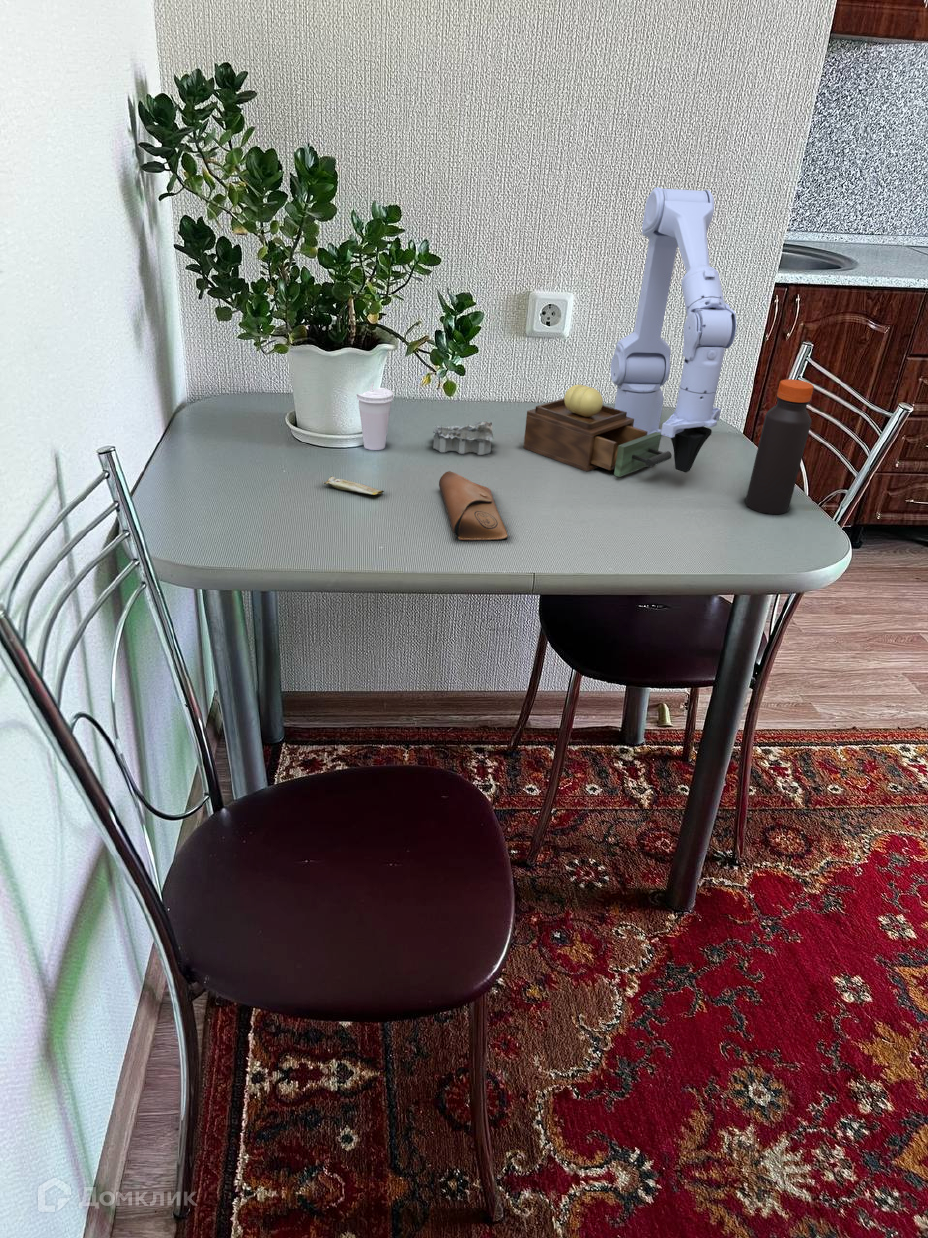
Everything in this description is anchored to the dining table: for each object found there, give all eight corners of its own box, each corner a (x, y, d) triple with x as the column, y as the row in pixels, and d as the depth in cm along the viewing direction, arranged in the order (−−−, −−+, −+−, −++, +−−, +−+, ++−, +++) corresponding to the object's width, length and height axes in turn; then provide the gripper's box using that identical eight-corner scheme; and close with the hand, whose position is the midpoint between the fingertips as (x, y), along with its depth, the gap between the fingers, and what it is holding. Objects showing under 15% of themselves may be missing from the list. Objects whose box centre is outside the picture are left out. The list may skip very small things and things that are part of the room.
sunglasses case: (512, 537, 128) (491, 499, 125) (469, 560, 129) (447, 524, 126) (490, 488, 144) (471, 453, 140) (451, 509, 144) (432, 475, 141)
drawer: (677, 469, 155) (682, 440, 153) (640, 484, 148) (645, 454, 145) (595, 441, 165) (598, 413, 163) (557, 454, 158) (560, 425, 155)
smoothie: (356, 439, 161) (356, 361, 154) (392, 440, 162) (393, 362, 154) (355, 452, 155) (355, 371, 148) (393, 453, 156) (394, 372, 149)
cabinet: (628, 455, 162) (634, 418, 158) (587, 471, 154) (592, 432, 150) (565, 434, 170) (570, 398, 167) (523, 448, 162) (526, 410, 159)
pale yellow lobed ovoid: (573, 408, 162) (578, 380, 160) (605, 418, 158) (611, 390, 156) (556, 410, 159) (561, 382, 157) (589, 421, 155) (594, 392, 153)
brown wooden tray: (572, 400, 165) (573, 395, 165) (626, 417, 159) (627, 412, 158) (535, 411, 159) (535, 406, 158) (589, 429, 152) (590, 424, 151)
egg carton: (493, 443, 164) (495, 421, 162) (490, 457, 157) (492, 435, 155) (435, 437, 164) (436, 416, 162) (429, 451, 158) (430, 429, 156)
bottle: (788, 502, 147) (820, 381, 137) (787, 518, 142) (820, 392, 131) (746, 495, 149) (774, 374, 139) (743, 510, 143) (772, 385, 133)
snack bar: (384, 489, 140) (376, 489, 137) (383, 499, 140) (374, 499, 138) (332, 475, 143) (322, 475, 140) (330, 485, 144) (320, 484, 141)
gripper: (696, 402, 134) (679, 487, 141) (743, 386, 143) (726, 467, 150) (656, 391, 138) (642, 474, 145) (704, 376, 148) (689, 455, 154)
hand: (682, 470), depth 148 cm, fingers closed
